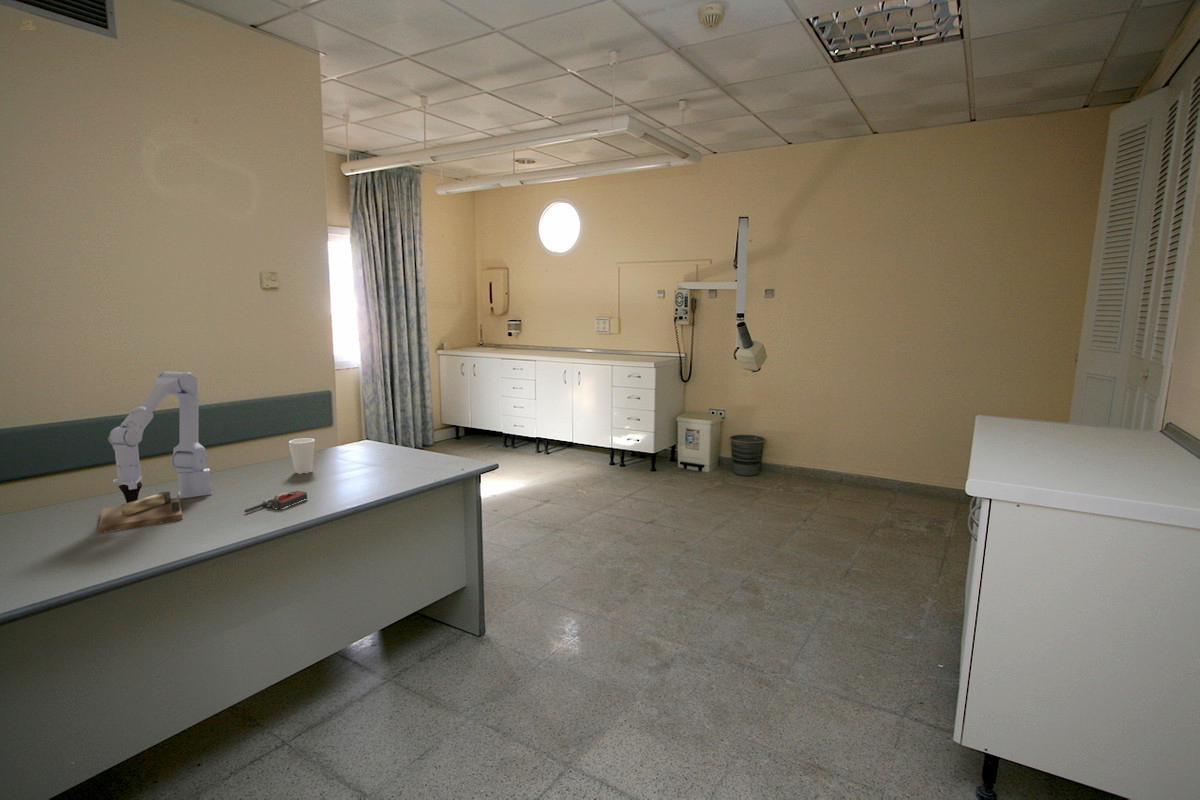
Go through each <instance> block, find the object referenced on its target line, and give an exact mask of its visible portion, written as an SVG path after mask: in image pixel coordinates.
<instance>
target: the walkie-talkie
mask: <svg viewBox="0 0 1200 800" xmlns="http://www.w3.org/2000/svg"><path fill="white" fill-rule="evenodd" d="M304 499H307V500H308V492H307V491H301V490H290V492H286V491H283V492H281V493H278V494H275V496H274V497H271V498H269V499H266V500H263V501H262V503H260V504H258V505H254V506H252V507H249V508H246V509H245V510H244V513H249V512H252V511H255V510H258V509H260V508H265V506H267V507H274V508H273V509H275V508H277V509H276V510H279V509H278V508H284V507H286V506H289V505H292V504H294V503H297V502H299V501H301V500H304ZM267 507H266V508H267Z"/></svg>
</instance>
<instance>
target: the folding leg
mask: <svg viewBox="0 0 1200 800" xmlns="http://www.w3.org/2000/svg"><path fill="white" fill-rule="evenodd" d="M171 499H172V498H171V492H170V491H161V492H159V493H156V494H152V495H149V496H147V497H143V498H138V500H136V501H132V502H129V503H126V502H125V503H123V504H121V505H120V506H121V512H122V514H124V515H129V514H133V513H136V512H139V511H142V510H145V509H148V508H151V507H154V506H158V505H161V504H164V503H168V502H171Z"/></svg>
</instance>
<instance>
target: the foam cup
mask: <svg viewBox="0 0 1200 800" xmlns="http://www.w3.org/2000/svg"><path fill="white" fill-rule="evenodd" d="M315 446H316V442H315V438H309V437H308V438H307V437H306V438H305V437H304V438H303V437H302V438H295V439H292V440H289V441H288V448H289V451H290V455H291V459H292V460H291V461H292V465H293V468H294V469H293V470H294V473H295V474H296V473H298V475H303V474H302V473H306V474H310V473H312V472H313V465H314V464H313V463H314V456H315V455H314V453H315ZM309 472H310V473H309Z"/></svg>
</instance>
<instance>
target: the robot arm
mask: <svg viewBox="0 0 1200 800" xmlns="http://www.w3.org/2000/svg"><path fill="white" fill-rule="evenodd" d="M168 395H175V396H176V398H178V399H179V443H178V444H177V445H176V446H174V447H173V453H172V456H171V458H170V463H171V464H170V465H171V466H172V467H173V468H174V469H175V471H176V472H177V475H178V477H177V478H178V485H179V488H178V489H179V491H178V492H177V493H178V498H179V499H180V500H181V499H188V498H189V499H190V498H196V497H202V496H203V497H204V496H208V495H212V493H213V492H212V488H213V484H212V481H211V469H210V468H209V467H207V465H208V462H209V461H208V459H209V458H208V455H207V451H206V447H204V446H203V445H202V444H201V443H200V442H199V411H200V410H199V402H200V401H199V395H200V394H199V390H198V377H197V376H195V375H194V374H193V373H192V372H189V371H185V372H182V371H168V370H167V371H166V370H165V371H162V372H160V373H159V374H158V375H157V377H156V378H155V379H154V386H153V388H152V389H151V390H150V392H149V394H148V395H147V397H146V398H145V400H144V401H143V402H142V404H141V406H136V407H134V408H132V409H131V410H130V411H129V414H128V415H127V416H126V417H125V419H124V420H123V421H122V422H121V423H120V425H119V426H116V427H114V428H113V429H112V430H110V433H109V436H108V437H107V439H108V441H109V443H110V444H111V446H112V450H114V454H115V457H114V458H115V464H116V475H117V479H116V478H115V479H113V480H112V482H113V484H117V483H119V484H120V485H118V489H120V491H121V492H122V494H123V496H124V498H125V504H126V503H129V502H132V501H136V500H139V493H140V491H141V489H142V486H143V483H142V482H141V481H142V479H143V476H142V473H141V464H140V463H141V462H140V454H139V452H140V451H139V443H140V442H142V441H143V434H144V430H145V429H146V427H147V426H148V425H149V423H151V421H152V420H153V418H154V413H153V411H155V410H156V409H157V408H158V406H159V405H160V404H161V403H162V402H163V400H165V398H167V397H168ZM206 467H207V468H206Z"/></svg>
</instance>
